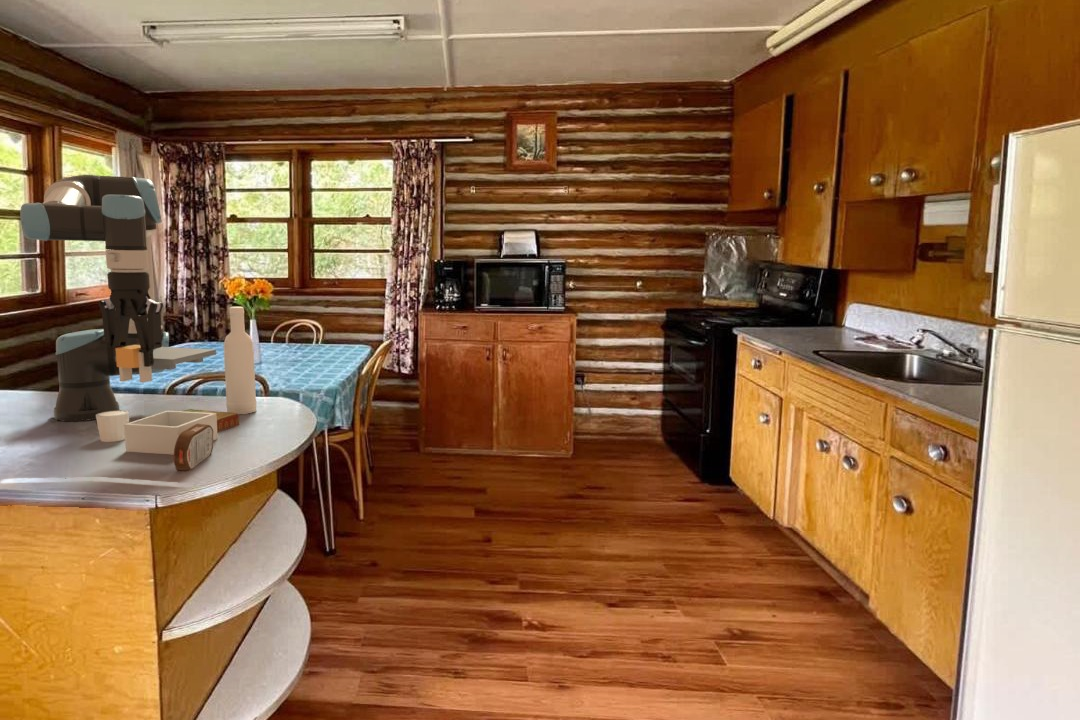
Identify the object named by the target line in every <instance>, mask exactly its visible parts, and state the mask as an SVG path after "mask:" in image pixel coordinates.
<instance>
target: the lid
mask: <svg viewBox="0 0 1080 720" xmlns="http://www.w3.org/2000/svg"><path fill="white" fill-rule="evenodd" d="M139 350H141V347H140V345H130V346H125V347H119V348H116V356H115V362H116V361H117V367H125V368H139V360H138V352H139ZM216 355H217V349H213V348H212V349H211V348H194V347H193V348H192V347H190V348H189V347H173V346H172V347H171V346H169V347H160V348H157V349H155V350H154V351H153V359H154V364H153V366H151V369H165V371H166V370H170V371H171V370H175V369H177V365H179V364H182V363H194V364H199V363H203V362H204V358H207V357H211V356H216Z"/></svg>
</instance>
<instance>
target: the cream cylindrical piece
mask: <svg viewBox="0 0 1080 720" xmlns="http://www.w3.org/2000/svg"><path fill="white" fill-rule="evenodd" d="M95 420H96V423H97V429H98V435H99V440H100V442H105V443H108V442H109V443H112V442H119V441H125V430H124V424H127V423H130V412H129V411H128V410H120V411H107V412H102V413H98V414H96V419H95Z"/></svg>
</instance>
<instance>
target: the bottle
mask: <svg viewBox="0 0 1080 720" xmlns="http://www.w3.org/2000/svg"><path fill="white" fill-rule="evenodd" d="M228 313H229V318H230V319H229V320H230V332H229V333H228V334H227V335H226V336H225V338H224V342H223V360H224V376H225V377H224V379H225V397H226V398H225V401H226V404H225V406H226V412H228V413H238V414H242V415H248V414H247V413H250V414H253V413H252V412H254V413H255V412H257V396H256V395H257V394H256V375H255V372H256V371H255V353H254V342H253V339H252V336H250V334H248V333H247V332H246V330H245V310H244V307H243V306H230V307H229V312H228Z"/></svg>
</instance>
